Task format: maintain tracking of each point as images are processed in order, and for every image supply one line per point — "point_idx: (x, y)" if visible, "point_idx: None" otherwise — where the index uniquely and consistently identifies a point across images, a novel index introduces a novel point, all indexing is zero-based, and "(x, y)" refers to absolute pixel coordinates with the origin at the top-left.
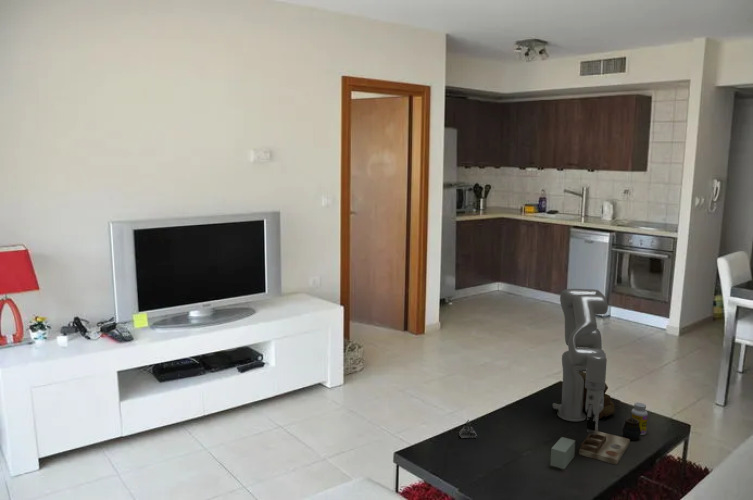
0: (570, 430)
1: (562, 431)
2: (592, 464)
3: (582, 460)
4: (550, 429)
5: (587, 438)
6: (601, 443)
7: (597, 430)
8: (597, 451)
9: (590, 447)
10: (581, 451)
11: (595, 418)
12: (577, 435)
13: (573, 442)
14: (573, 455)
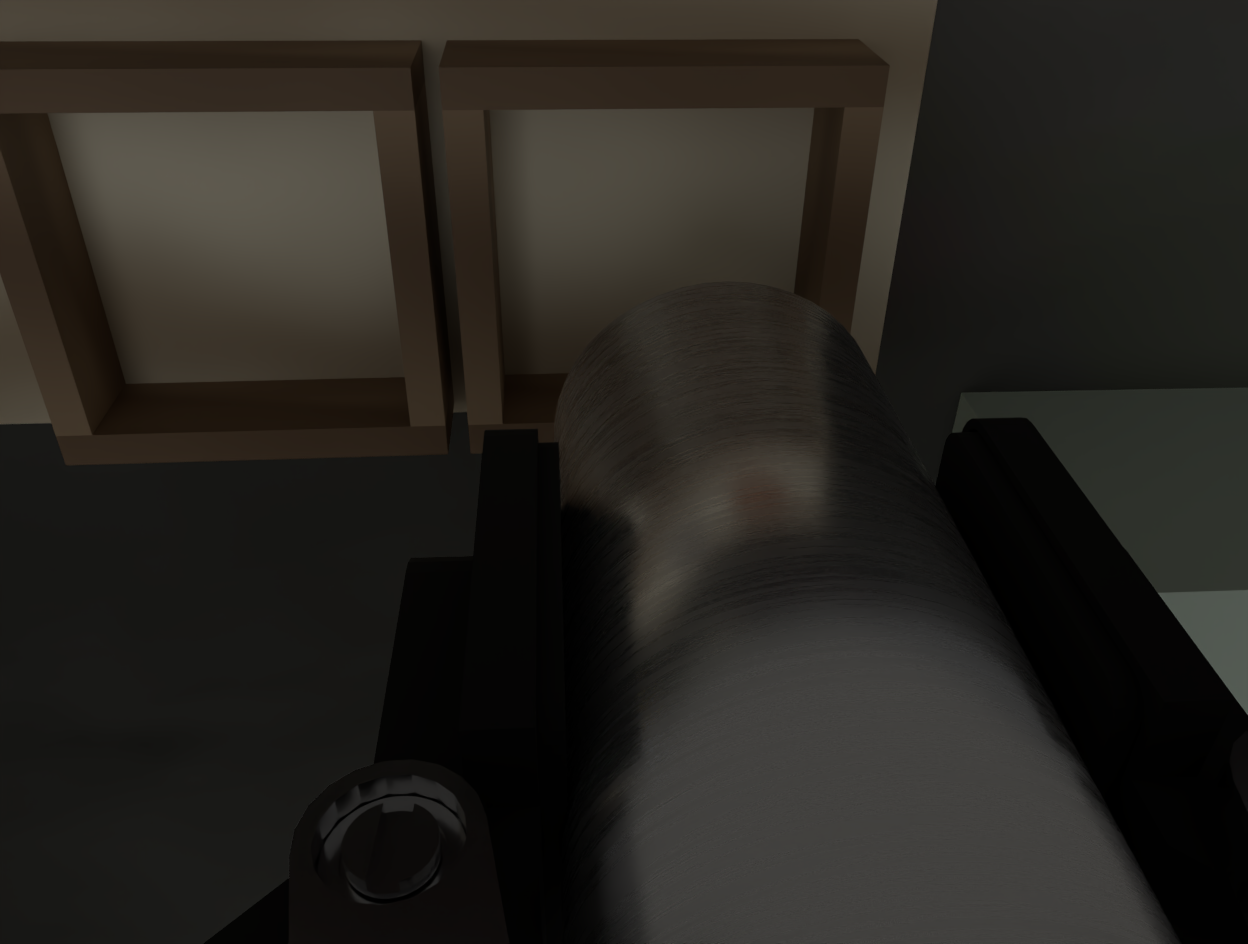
0: (9, 712)
1: (157, 774)
2: (1174, 13)
3: (1064, 233)
4: (235, 884)
5: (431, 424)
6: (482, 66)
7: (748, 340)
8: (854, 48)
9: (861, 239)
10: (870, 349)
11: (1114, 830)
12: (96, 586)
13: (1223, 592)
14: (1034, 413)
